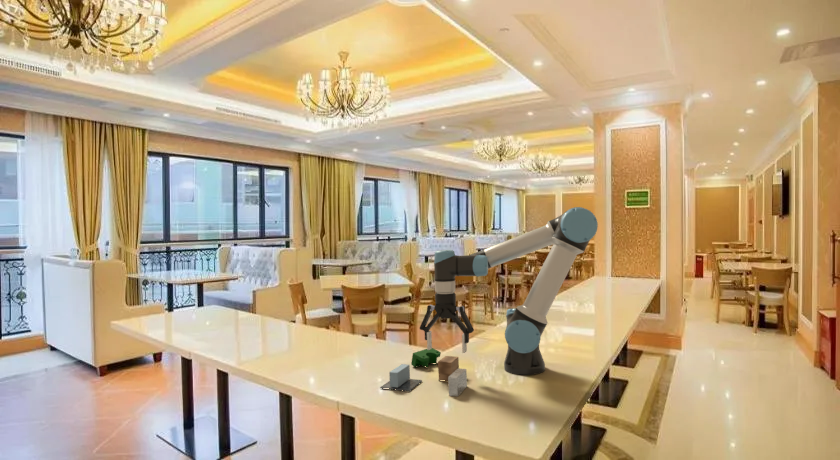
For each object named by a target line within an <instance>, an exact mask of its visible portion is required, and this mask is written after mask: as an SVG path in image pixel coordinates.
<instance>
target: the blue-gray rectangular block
mask: <svg viewBox="0 0 840 460" xmlns="http://www.w3.org/2000/svg"><path fill="white" fill-rule="evenodd" d="M410 373H411V372H410V364H405V363H401V364H400V365H399V366H397V367H395V368H393V369H392V370H390V371H389V373H388V374H389V381H390V387H397V388H398V387H399V386H401V385H402V384H403V383H405V382H406V381H407V380H409V379H411V374H410Z"/></svg>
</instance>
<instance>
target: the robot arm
mask: <svg viewBox="0 0 840 460" xmlns="http://www.w3.org/2000/svg"><path fill="white" fill-rule="evenodd" d="M598 225H599V224H598V219H597V217H596V215H595V214H594V213H593V212H592V211H591V210H589V209H587V208H584V207H581V206H575V207H571V208H569V209H567V210H566V211H565V212H564V213H562V214H560V215H558V216H557V217H556V218H553V219H551V220H548V221H547V223H546V224H545V225H543V226H541V227H537V228H535V229H533V230H531V231H528V232H525V233H523V234H519V235H518V236H517V235H516V236H515V237H513V238H509V239H507V240H505V241H502V242H500V243H497V244H495V245H492V246H489V247H487V248H485V249H482V250H479V251H477V252H474V253H471V254H469V255H466V254H465V255H456V254H455V251H454V250H453V249H452V250H451V249H450V250H449V249H447V250H444V249H443V250H436V251H435V252H434V260H433V261H434V262H433V264H434V265H433V267H434V292H435V294H434V300H435V305H433V304H429V305H427V307H426V312H425V315H424V317H423V320H422V321H421V324H420V326H419V330H421V331H423V332H424V341H426V344H427V345H426V349H427V350H430V349H432V348H433V344H432V343H433V342H432V341H433V340H432V338H433V337H432V336H433V334H432V330H431V328H432V327H433V326H434V325H435V323H436V322H437V321H438V320H439V319H451V320H453V321H454V323H455V324H456V325H457V326H458V328H459V329H460V330H461V331H462V335H461V346H462V349H461V350H462V352H461V353H462V354H465V353H467V350H468V346H467V345H468V343H470V334H471V333H473V332H475V329H474V327H473V324H472V323H471V321H470V318H469V317H468V315H467V313H466V310H465V309H466V308H465V306H464V305H461V306H457V302H456V301H457V298H456V297H457V295H456V277H485V276H486V277H487V275H488V273H489V269H491V268H494V267H497V266H499V265H501V264H504V263H508V262H509V261H512V260H515V259H517V258H520V257H522V256H526V255H529V254H531V253H533V252H536V251H538V250H541V249H544V248H546V247H548V246H552V247H551V248H550V250H549V252H548V254H547V256H546V257H545V258H546V259H545V260H544V262H543V265H542V266H541V268H540V270H539V273H538V275H537V276H536V278H535V280H534V282H533V284H532V286H531V288H530V289H529V292H528V294H527V296H526V298H525V300H524V302H523V303H522V304H521V305H517V306H516V307H515V308H508V309H507V310H506V314H505V317H506V327H505V329H504V338H505V341H506V343H507V352H506V354H505V358H504V361H503V362H504V363H503V365H504V366H503V367H504V368H503V369H504V370H505V371H506V372H508V373H510V374H515V375H525V376H528V375H538V374H541V373H543V372H545V370H546V366H545V365H546V364H545V361H544V358H543V356H542V353H541V350H540V344H541V337H542V335H543V333H544V331H545V330H546V329H545V328H546V327H547V325H548V324H549V323H548V320H547V316H548V315H547V314H548V313H549V311H550V308H551V306H552V305H553V303H554V301H555V299H556V297H557V295H558V293H559V291H560V289H561V287H562V285H563V284H564V281H565V279H566V277H567V276H568V273H569V272H570V270H571V267H572V266H573V264H574V262H575V260H576V258H577V255H580V254H583V253H584V252H585V251H586V249H587V247H588V244H589V243H590V241H591V239H593V238H594V237H595V236H596V234H597V231H598V227H599V226H598ZM433 311H435V313H436V314H435V315H434V316H433V317H432V319H431V320H430V322H429V319H430V318H431V315H432V312H433ZM456 312H458V313H459V314H460V317H461V319H462V320H461V319H460V318H459V316H458V314H457V313H456ZM462 321H463V322H462ZM428 322H429V323H428Z"/></svg>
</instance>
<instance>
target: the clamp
mask: <svg viewBox="0 0 840 460" xmlns="http://www.w3.org/2000/svg"><path fill="white" fill-rule="evenodd" d="M440 357H441V351H439V350H437V349H435V348H433V347H432V349H430V350H427V348H425V349H424V348H423V349H422V350H421V349H420V350H418V351H415V352H413V353H412V356H411V366H413V367H414V368H417V367H416V366H419V365H422V366H421V367H424V366H426V367H428V368H429V364H431V363H436V364H437V363H438V360H437V359H438V358H440ZM419 367H420V366H419Z"/></svg>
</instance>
